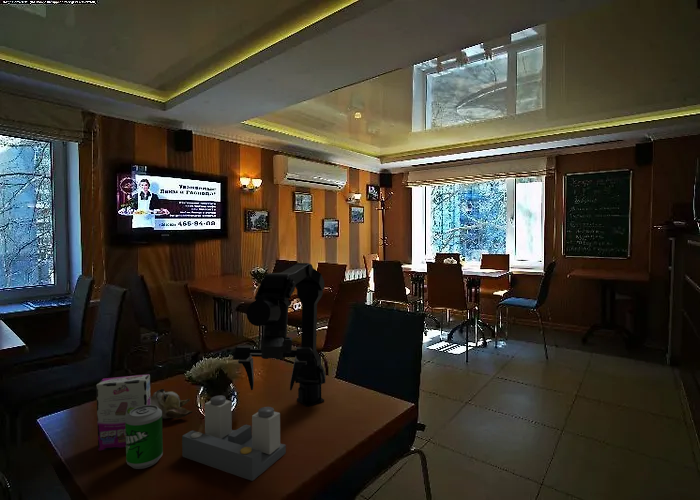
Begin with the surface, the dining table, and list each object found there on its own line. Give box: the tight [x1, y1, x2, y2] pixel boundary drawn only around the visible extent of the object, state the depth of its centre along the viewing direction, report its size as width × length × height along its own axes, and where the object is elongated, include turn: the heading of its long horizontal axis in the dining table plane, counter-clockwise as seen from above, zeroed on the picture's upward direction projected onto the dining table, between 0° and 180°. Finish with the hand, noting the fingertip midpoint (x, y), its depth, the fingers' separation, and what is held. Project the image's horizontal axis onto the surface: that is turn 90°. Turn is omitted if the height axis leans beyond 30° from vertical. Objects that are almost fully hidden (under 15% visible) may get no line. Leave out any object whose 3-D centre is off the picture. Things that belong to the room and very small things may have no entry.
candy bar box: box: [95, 373, 152, 452], centre depth 99 cm, size 11×5×16 cm, turn 105°
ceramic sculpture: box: [151, 388, 194, 420], centre depth 113 cm, size 11×9×15 cm
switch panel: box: [181, 424, 287, 482], centre depth 93 cm, size 12×21×5 cm, turn 64°
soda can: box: [125, 405, 164, 470], centre depth 91 cm, size 8×8×12 cm
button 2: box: [251, 406, 281, 455], centre depth 92 cm, size 4×5×9 cm
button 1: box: [204, 395, 233, 439], centre depth 99 cm, size 4×5×9 cm
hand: (271, 389), depth 95 cm, fingers open, 9 cm apart
